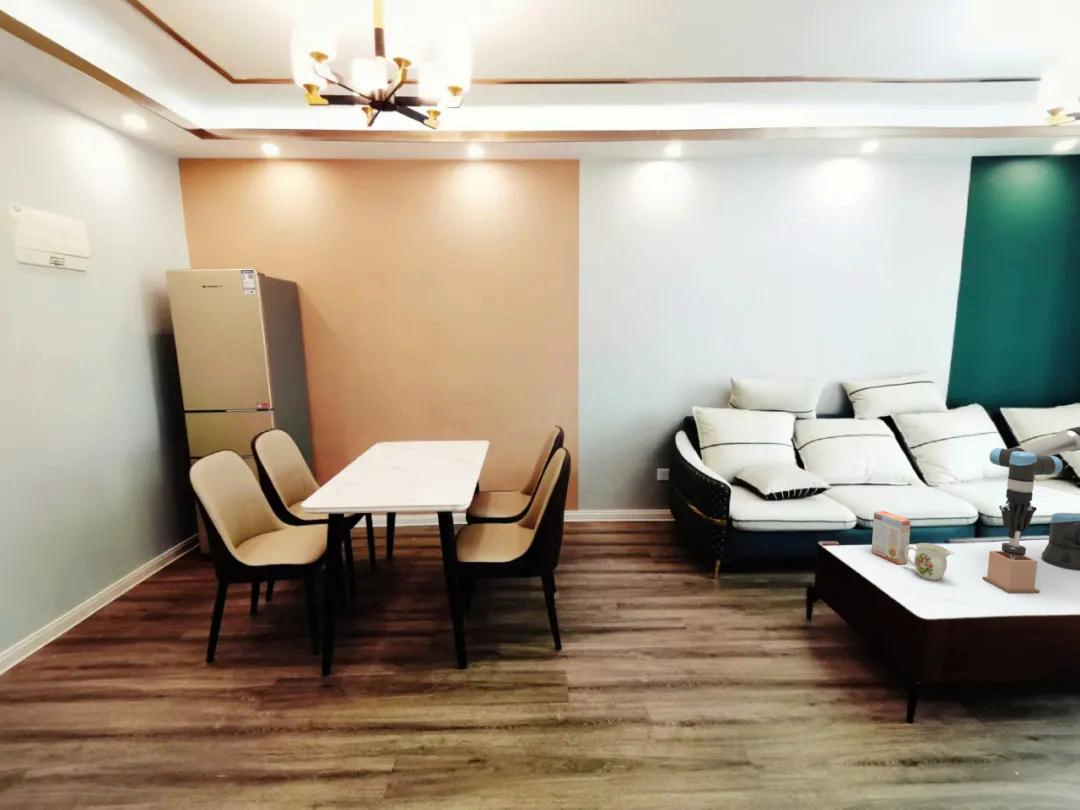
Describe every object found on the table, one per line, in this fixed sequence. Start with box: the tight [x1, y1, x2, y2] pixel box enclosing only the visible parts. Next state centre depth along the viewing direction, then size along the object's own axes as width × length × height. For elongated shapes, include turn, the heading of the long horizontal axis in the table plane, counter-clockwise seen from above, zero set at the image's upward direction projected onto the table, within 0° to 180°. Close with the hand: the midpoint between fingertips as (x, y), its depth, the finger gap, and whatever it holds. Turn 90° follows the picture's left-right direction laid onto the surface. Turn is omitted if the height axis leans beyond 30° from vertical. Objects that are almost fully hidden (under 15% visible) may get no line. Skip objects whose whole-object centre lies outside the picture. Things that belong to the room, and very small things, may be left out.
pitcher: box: [905, 542, 955, 581], centre depth 210 cm, size 11×18×14 cm, turn 25°
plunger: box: [1001, 542, 1027, 560], centre depth 200 cm, size 8×8×15 cm
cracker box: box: [871, 510, 912, 565], centre depth 228 cm, size 14×6×21 cm, turn 12°
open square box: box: [982, 550, 1040, 594], centre depth 200 cm, size 12×12×13 cm
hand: (1013, 545), depth 199 cm, fingers closed
